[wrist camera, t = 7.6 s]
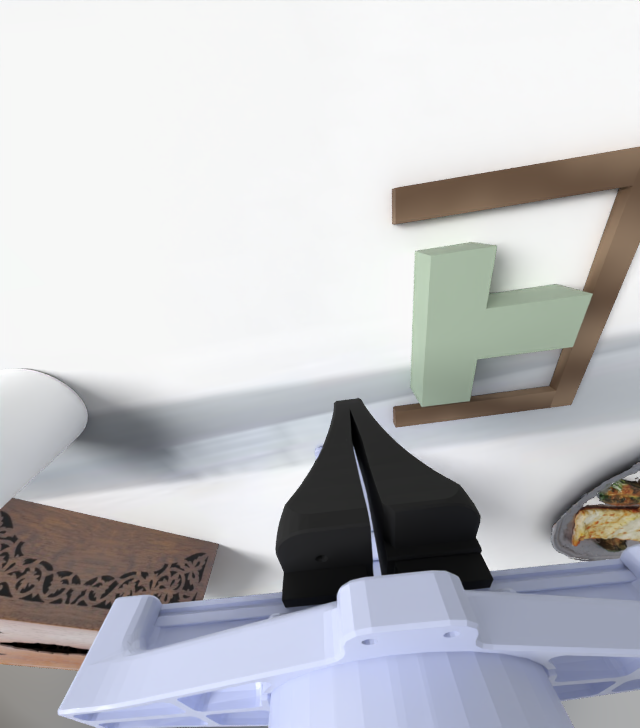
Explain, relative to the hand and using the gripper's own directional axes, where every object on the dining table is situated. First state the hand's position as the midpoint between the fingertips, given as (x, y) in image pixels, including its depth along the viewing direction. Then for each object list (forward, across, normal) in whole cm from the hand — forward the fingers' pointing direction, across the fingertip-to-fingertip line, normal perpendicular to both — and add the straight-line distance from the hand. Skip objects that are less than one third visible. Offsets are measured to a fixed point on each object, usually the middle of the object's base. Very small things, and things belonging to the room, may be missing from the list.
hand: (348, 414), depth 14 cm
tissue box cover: (+10, +34, +27) cm, 45 cm away
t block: (+9, -12, 0) cm, 15 cm away
